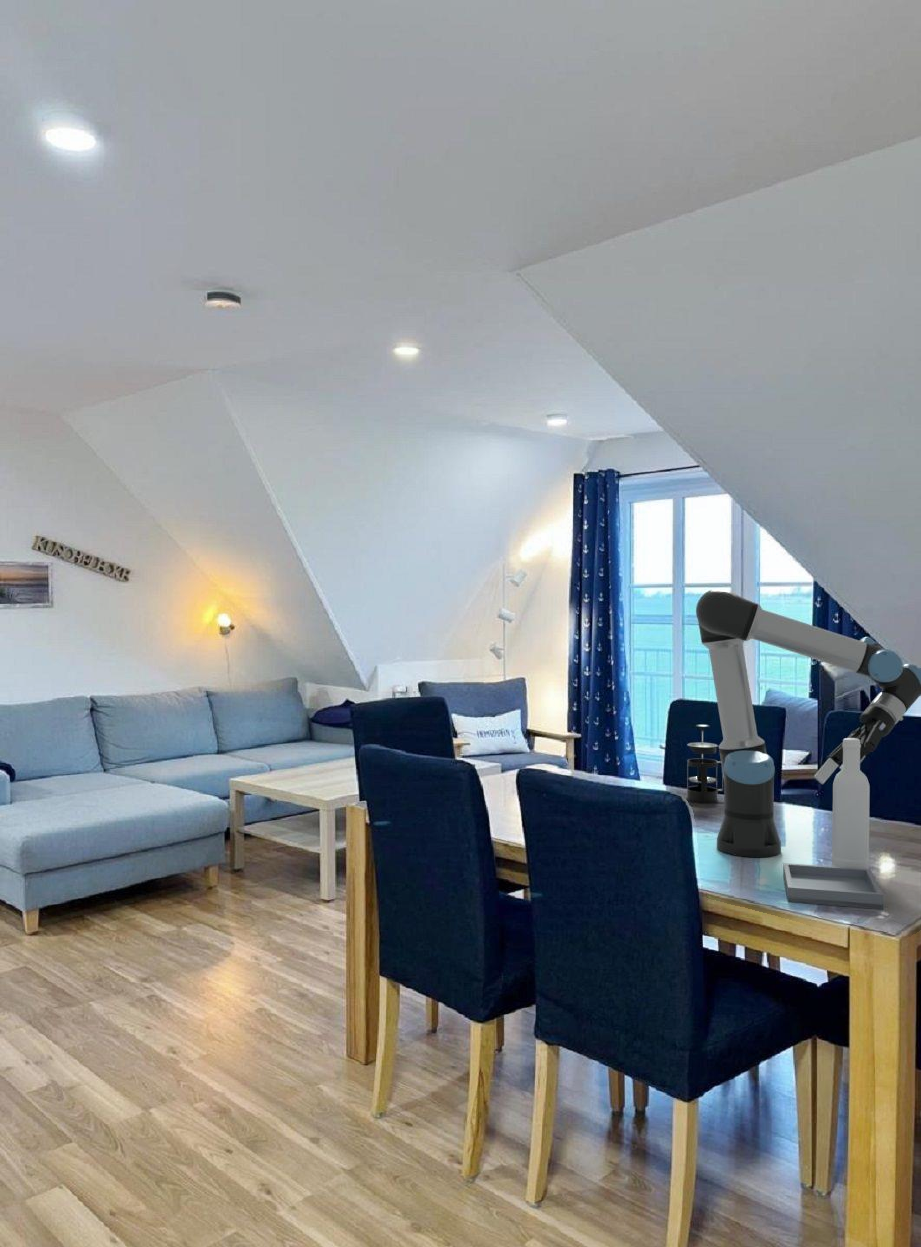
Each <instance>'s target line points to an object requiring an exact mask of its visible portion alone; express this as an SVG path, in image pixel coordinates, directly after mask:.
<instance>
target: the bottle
mask: <svg viewBox="0 0 921 1247" xmlns="http://www.w3.org/2000/svg"><path fill="white" fill-rule="evenodd" d="M842 742H843V744H842V746H843V760H842V764H843V769H842V770H841V769H840V771H839V772H838V773H836V775H835V777H834V780H833V783H832V841H831V842H832V843H831V844H832V846H831V847H832V848H831V849H832V850H831V851H832V853H831V863H832V865H831V866H833V867H847V868H862V869H870V796H871V795H870V792H871V791H870V783H869V780H868V777H867V776H866V774H865V773H864V772H862V770H861V763H860V748H861V744H860V740H859V739H856V738H846V737H845V738H843V739H842Z"/></svg>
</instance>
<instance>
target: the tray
mask: <svg viewBox="0 0 921 1247" xmlns="http://www.w3.org/2000/svg"><path fill="white" fill-rule="evenodd" d="M782 863H783V865H782V867H783V868H782V870H783V871H782V873H783V874H782V876H783V882H784V888H785V893H786V894H785V895H786V900H787V902H788V903H796V904H809V905H811V904H812V905H822V906H823V905H824V906H835V907H836V906H837V907H845V908H846V907H848V908H857V909H858V908H859V909H860V908H862V909H870V910H871V909H873V910H884V893H883V892H882V889H881V888H880V887H881V886H880V885H879V884H878V881H877V879H876V877H875V875H874V873H873V872H872V869H871V868H869V869H862V868H847V867H833V866H832V865H831V866H830V865H818V864H815V865H814V864H802V863H787V862H782Z"/></svg>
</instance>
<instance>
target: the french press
mask: <svg viewBox="0 0 921 1247" xmlns="http://www.w3.org/2000/svg"><path fill="white" fill-rule="evenodd" d="M695 727H696V728H697V727H698V728H700V732H701V742H689V743H687V747H689V749H690V750H691V751H692V752H693V753H694V754H696V755H701V758H698V757H697V758H696V757H695V758H689V759H687V761H686V762H687V765H686V766H687V770H686V771H687V772H686V774H687V779H686V780H687V781H686V784H687V785H686V788H687V789H686V801H688V802H691V803H697V804H714V803H718V802H719V798H718V795H719V794H718V792H724V778H723V774H722V773H721V774H722V775H721V776H722V777H721V778H722V783H721V784H722V786H721V787H722V788H718V779H719V778H718V777H719V776H718V771H719V768H718V766H719V764H721V760H719V761H718V760H716V759H713V758H704V755H712V754H716V753H717V748H719V745H718V744H716V743H711V742H704V732H705V728H710V725H709V724H696V725H695ZM689 767H690V768H691V767H693V768H697V776H690V775H689V773H690V772H689V770H690V769H689ZM708 768H709V769H710V768H715V773H716V774H715V775H716V776H715V777H712V776H711V777H710V776H708ZM689 776H690V777H689ZM689 783H692V784H693V783H695V784H697V785H692V786H689ZM714 783H715V787H712V786H708V784H714Z"/></svg>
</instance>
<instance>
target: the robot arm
mask: <svg viewBox="0 0 921 1247" xmlns="http://www.w3.org/2000/svg"><path fill="white" fill-rule="evenodd" d="M695 608H696V609H695V615H696V619H697V623H698V628H699V634H700V640H701V645H703V646H705V647H706V648H707V649H708V653H709V658H710V665H711V666H710V667H711V671H712V672H711V673H712V676H713V683H714V688H715V690H714V691H715V696H716V700H717V709H718V714H719V720H720V727H721V732H722V737H723V738H722V741H721V742H720V744H719V745H718V752H719V756H720V761H721V763H720V764H721V774H723V778H724V791H723V793H724V794H723V795H724V796H723V797H724V800H723V801H724V803H723V804H724V806H723V807H724V812H723V813H724V815H723V820H722V823H721V825H720V829H719V831H718V834H717V837H716V848H717V850H718V851H721V852H723V853H725V854H729V855H733V856H737V857H738V856H739V857H744V858H745V857H746V858H767V857H768V858H769V857H774V856H777V855H780V854H781V852H782V843H781V839H780V835H779V833H778V829H777V826H776V823H775V820H774V819H775V816H774V812H775V811H774V807H775V806H774V805H775V803H774V802H775V801H774V799H775V796H774V795H775V794H774V791H775V790H774V789H775V787H774V786H775V785H774V784H775V783H774V781H775V780H774V779H775V772H776V770H775V769H776V768H775V764H774V763H775V762H774V759H773V758H772V757H771V756H770V755H769V754H768V753H767V749H766V743H765V740H764V739H763V738H761V737H760V736H759V735H758V730H757V724H756V720H755V713H754V706H753V700H752V695H751V688H750V683H749V676H748V669H747V663H746V658H745V652H744V643H745V642H748V641H750V640H756V641H758V642H761V643H763V644H767V645H771V646H772V647H773V646H774V647H776V648H780V649H782V650H786V651H787V652H788V651H789V652H792V653H795V654H799V655H800V656H801V655H802V656H804V657H806V658H810V659H813V660H816V661H820V662H822V663H826V664H828V665H831V666H835V667H838V668H842V669H844V670H848V671H850V672H853V673H857V674H858V675H860V676H861V675H863V676H865V677H868V678H869V679H870V680H871V681H872V682H873V683H874V684H875V685H877V686H878V687H879V688H880V689H881V691H880V692H879V693H878V694H877V695H876V696H875V698H874V699H873V700H872V701H871V702H870V704H869V705H868V706H867V707H866V709H865V710H864V711H863V712H862V713H861V715H860V716H859V721H860V723H861V726H862V727H858V728H856V729H855V730H853V731H851V733H850V734H849V735H848V736H847V738H856V739H859V740H860V744H861V748H860V764H861V763H863V760H864V759H865V758H866V756H868V755H869V754H870V753H871V752H872V753H873V752H874V751H876V749H877V747H878V745H879V743H880V742H881V740H882V738H883V737H886V736H888V735H889V734H890V732H892V730H893V728H894V727H895V726H896V724H897V723H898V722H899V721H903V720H904V717H903V716H904V715H905V714H906V713H907V711H908V710H909V709H910V708H911V706H913V705H914V703H915V702H916V701H917V700H918V698H919V697H921V667H918V666H917V665H916V664H913V663H905V664H904V662H903V660H902V657H900V656H899V654H898V653H896V651H895V650H891V649H888V648H883V647H882V646H880V644H878V643H877V642H876V641H874V640H873V639H872V638H871V637H869V636H865V637H862V638H860V640H858V639H855V638H853V637H850V636H846V635H843V634H840V633H837V632H834V631H831V630H827V629H824V628H822V627H818V626H815V625H812V624H809V623H805V622H803V621H799V620H797V619H793V618H790V617H787V616H784V615H781V614H777V613H774V612H772V611H769V610H765V609H763V607H762V606H761V604H760V603H757V602H755V601H754V602H753V601H751V600H749V599H746V598H745V597H742V596H740V595H738V594H736V592H734V591H732V590H730V589H728V588H727V589H726V588H722V587H721V588H715V589H714V588H713V589H710V590H708V591H706V592H705V593H703V594H702V596H701V597H700V598H699V600H698V601H697V604H696V607H695ZM842 744H843V741H842V742H841V743H840V744H839V745H837V747H836V748H835V749H834V750H832V752H831V753H829V755H827V756H826V761H825V762H824V763H823V765H822V766H820V768H819V769H818V770H817V771H816V773H815V774H814V776H813V778H814V779H815V780H816V781H818V783H820V784H821V785H824V784H825V782H826V781H827V780H828V779H830V777H831V776H832V775H833V773H834V772H835V771H836V769H837V768H838V769H840V771H841V770H842V769H843V763H842V764H841V765H840V763H841V762H843V746H842Z"/></svg>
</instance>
